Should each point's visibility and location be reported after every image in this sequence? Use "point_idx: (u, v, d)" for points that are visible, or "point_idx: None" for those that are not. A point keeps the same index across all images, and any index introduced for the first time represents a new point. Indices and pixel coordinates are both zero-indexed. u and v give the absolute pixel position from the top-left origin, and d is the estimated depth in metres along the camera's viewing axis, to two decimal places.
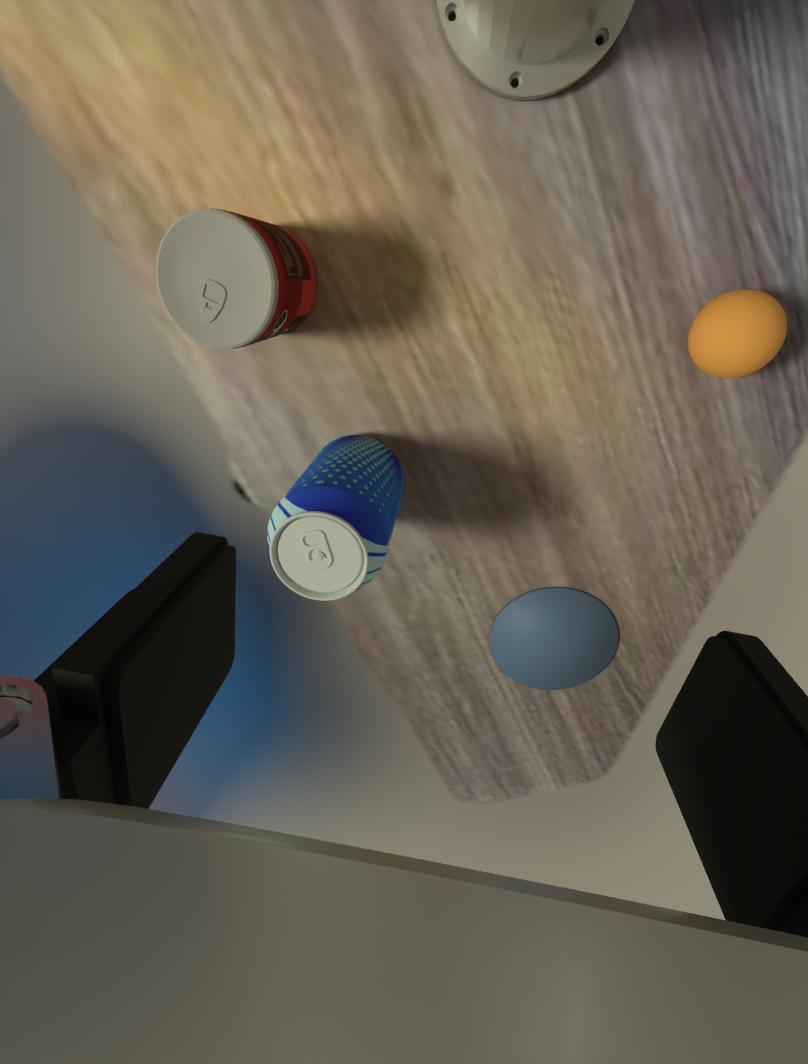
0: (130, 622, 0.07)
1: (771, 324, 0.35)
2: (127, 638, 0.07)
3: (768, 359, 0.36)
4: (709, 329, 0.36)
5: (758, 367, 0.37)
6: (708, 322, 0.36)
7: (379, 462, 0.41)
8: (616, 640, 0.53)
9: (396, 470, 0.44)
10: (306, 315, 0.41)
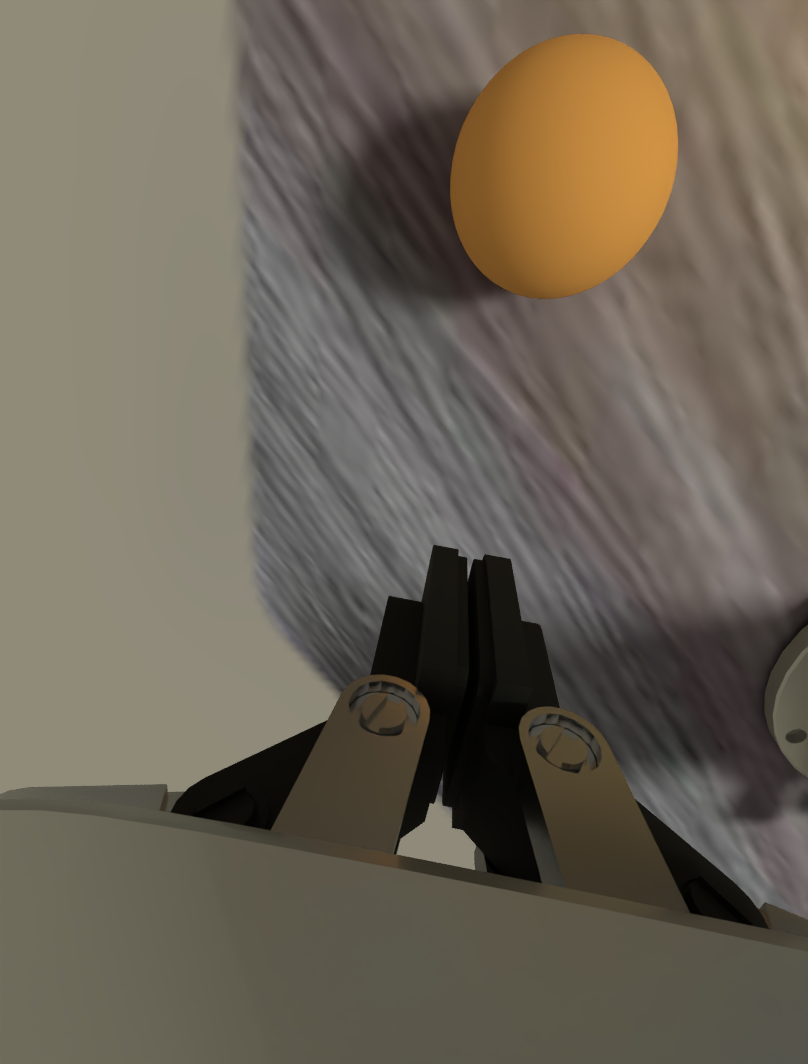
0: (449, 627, 0.08)
1: (537, 210, 0.13)
2: (457, 641, 0.08)
3: (500, 107, 0.12)
4: (670, 176, 0.13)
5: (516, 77, 0.12)
6: (666, 198, 0.13)
7: None
8: None
9: None
10: None
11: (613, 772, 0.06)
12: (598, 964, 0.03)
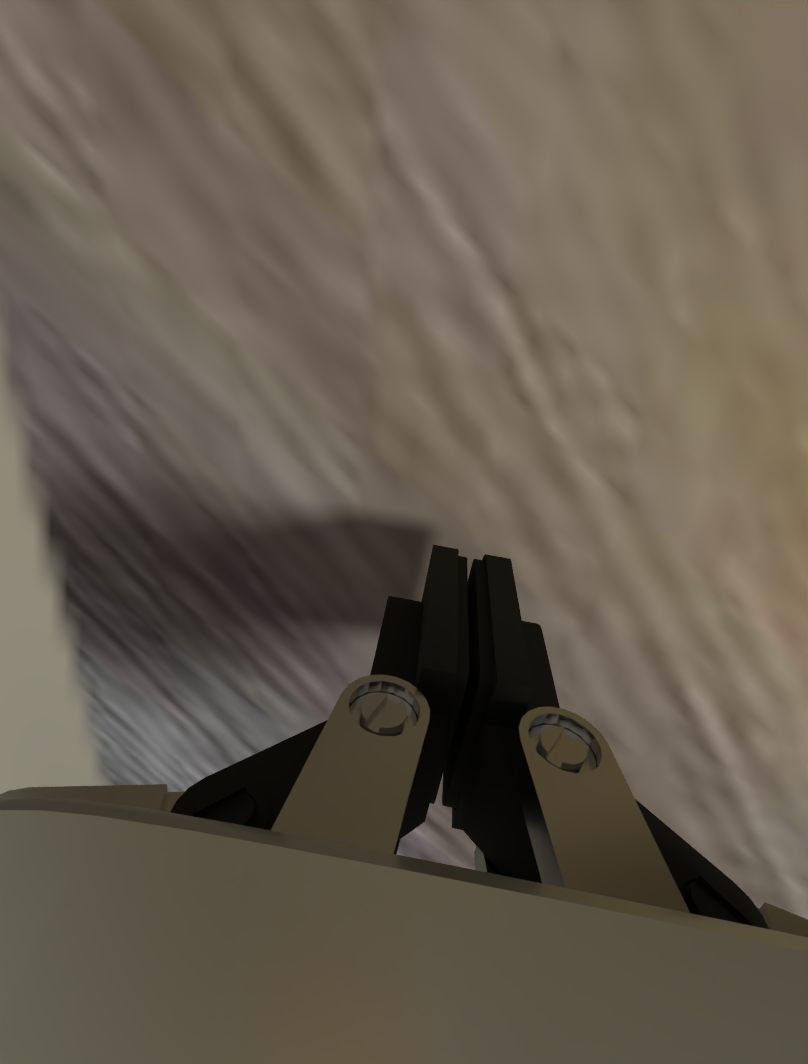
0: (449, 627, 0.08)
1: None
2: (457, 641, 0.08)
3: None
4: None
5: None
6: None
7: None
8: None
9: None
10: None
11: (613, 772, 0.06)
12: (598, 964, 0.03)
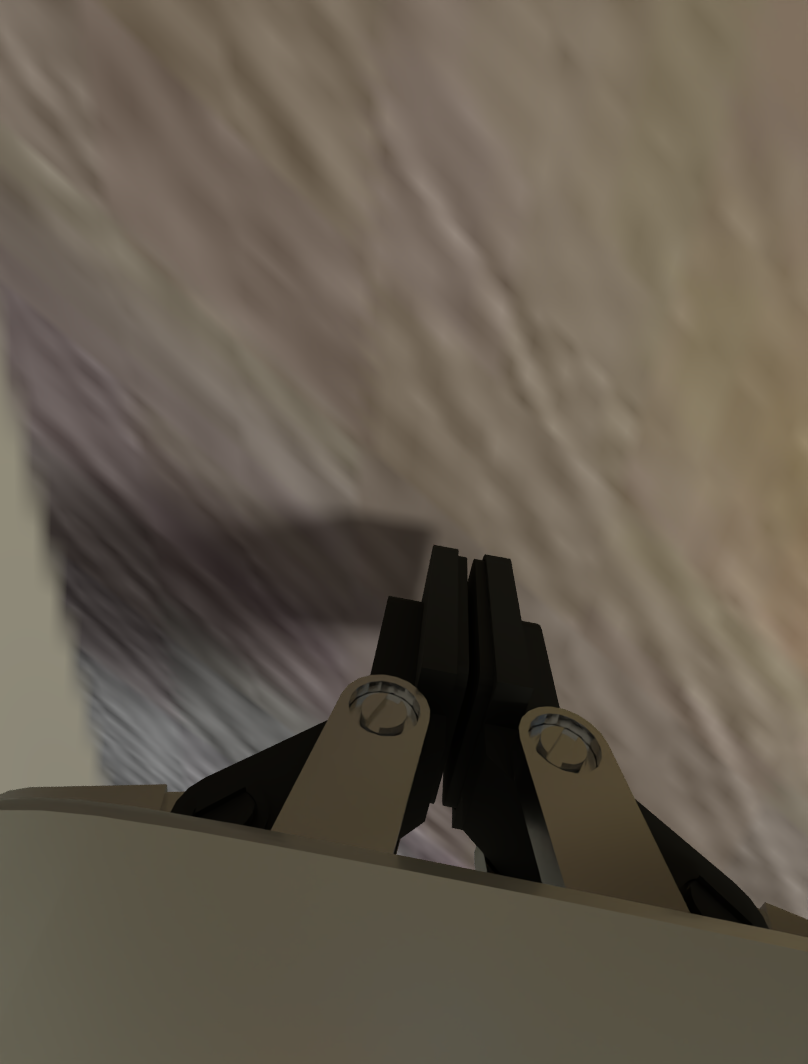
0: (449, 627, 0.08)
1: None
2: (457, 641, 0.08)
3: None
4: None
5: None
6: None
7: None
8: None
9: None
10: None
11: (613, 772, 0.06)
12: (598, 964, 0.03)
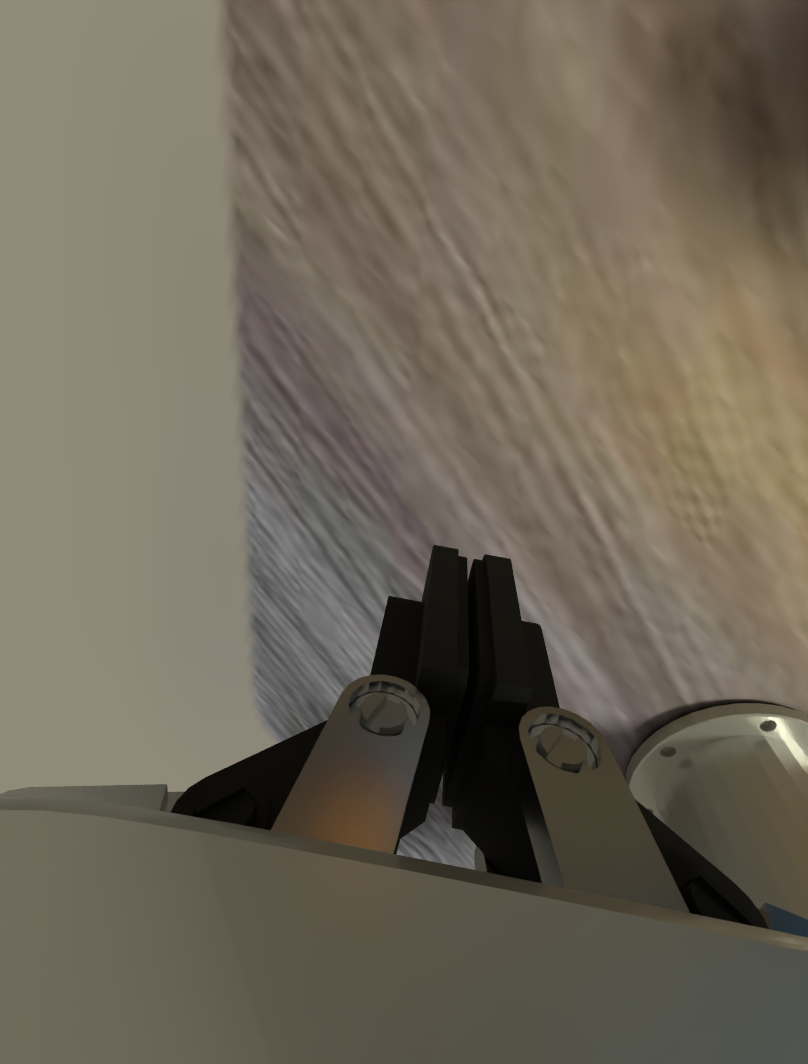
0: (449, 627, 0.08)
1: None
2: (457, 641, 0.08)
3: None
4: None
5: None
6: None
7: None
8: None
9: None
10: None
11: (613, 772, 0.06)
12: (598, 964, 0.03)
